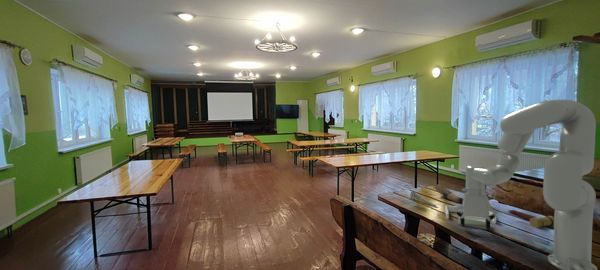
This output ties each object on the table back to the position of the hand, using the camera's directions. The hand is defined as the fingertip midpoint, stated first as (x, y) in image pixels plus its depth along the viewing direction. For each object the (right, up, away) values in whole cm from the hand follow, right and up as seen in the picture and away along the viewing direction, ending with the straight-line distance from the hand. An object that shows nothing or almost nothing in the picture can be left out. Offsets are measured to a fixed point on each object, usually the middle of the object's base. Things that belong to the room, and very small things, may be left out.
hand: (475, 227), depth 128 cm
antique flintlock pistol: (+14, +2, +41) cm, 44 cm away
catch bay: (+8, 0, +17) cm, 19 cm away
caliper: (-5, 0, +41) cm, 42 cm away
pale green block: (+3, -2, +7) cm, 8 cm away
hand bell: (+24, +1, +29) cm, 38 cm away
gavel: (+33, 0, +10) cm, 35 cm away
